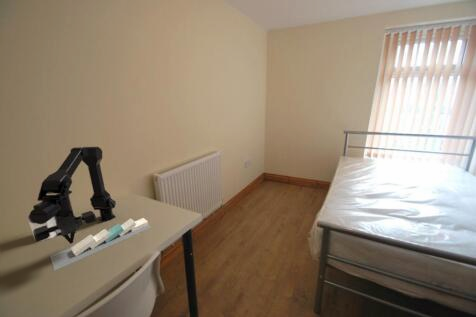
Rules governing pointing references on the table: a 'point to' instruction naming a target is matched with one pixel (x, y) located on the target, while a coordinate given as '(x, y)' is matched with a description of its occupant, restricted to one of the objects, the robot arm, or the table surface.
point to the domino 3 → (114, 232)
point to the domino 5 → (139, 224)
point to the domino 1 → (83, 245)
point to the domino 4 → (127, 226)
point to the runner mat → (88, 250)
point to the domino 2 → (100, 238)
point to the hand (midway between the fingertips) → (71, 242)
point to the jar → (48, 223)
